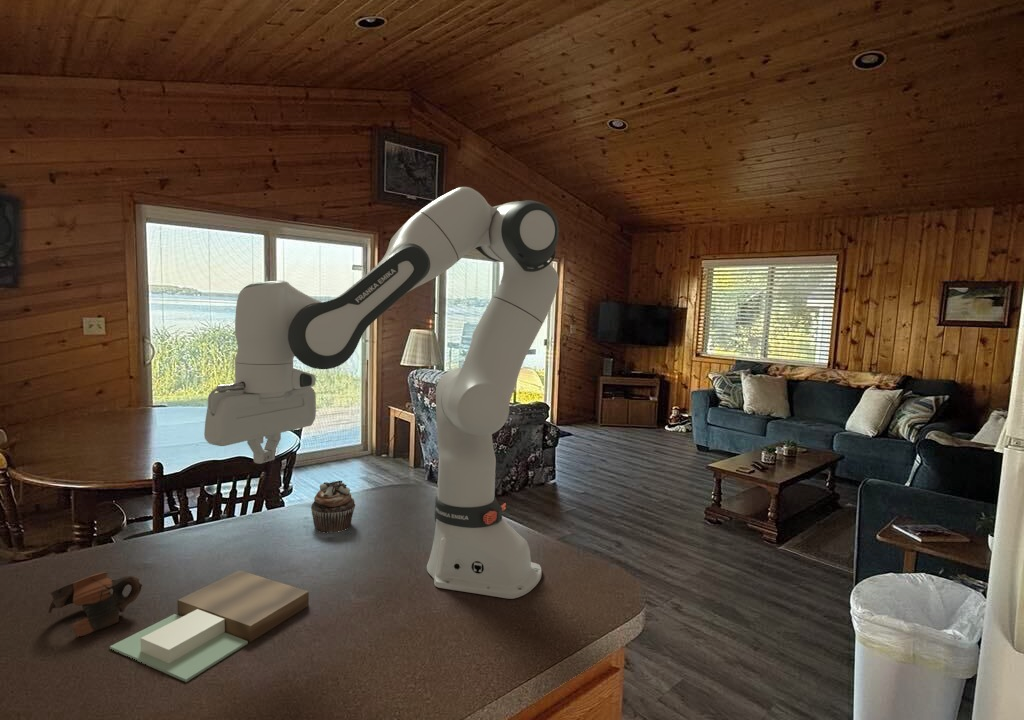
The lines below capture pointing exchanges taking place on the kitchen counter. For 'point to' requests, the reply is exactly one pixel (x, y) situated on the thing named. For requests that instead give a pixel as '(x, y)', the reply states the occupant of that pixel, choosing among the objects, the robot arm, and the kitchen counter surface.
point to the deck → (246, 603)
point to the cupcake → (332, 507)
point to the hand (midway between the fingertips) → (264, 461)
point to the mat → (187, 663)
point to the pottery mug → (96, 600)
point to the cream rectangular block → (182, 635)
